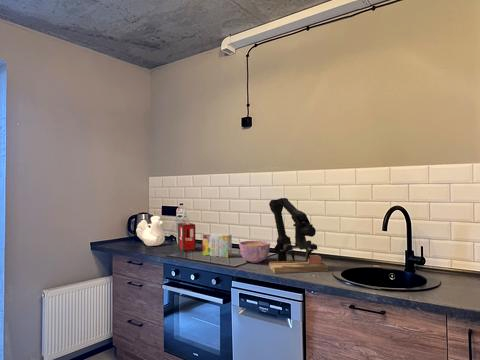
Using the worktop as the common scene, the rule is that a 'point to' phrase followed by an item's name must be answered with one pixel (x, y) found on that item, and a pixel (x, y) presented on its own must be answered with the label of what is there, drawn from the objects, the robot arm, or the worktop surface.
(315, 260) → the block
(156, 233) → the decorative rooster
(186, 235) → the cleaning product box
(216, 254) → the snack box
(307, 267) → the box
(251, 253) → the bowl of food
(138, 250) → the worktop surface
